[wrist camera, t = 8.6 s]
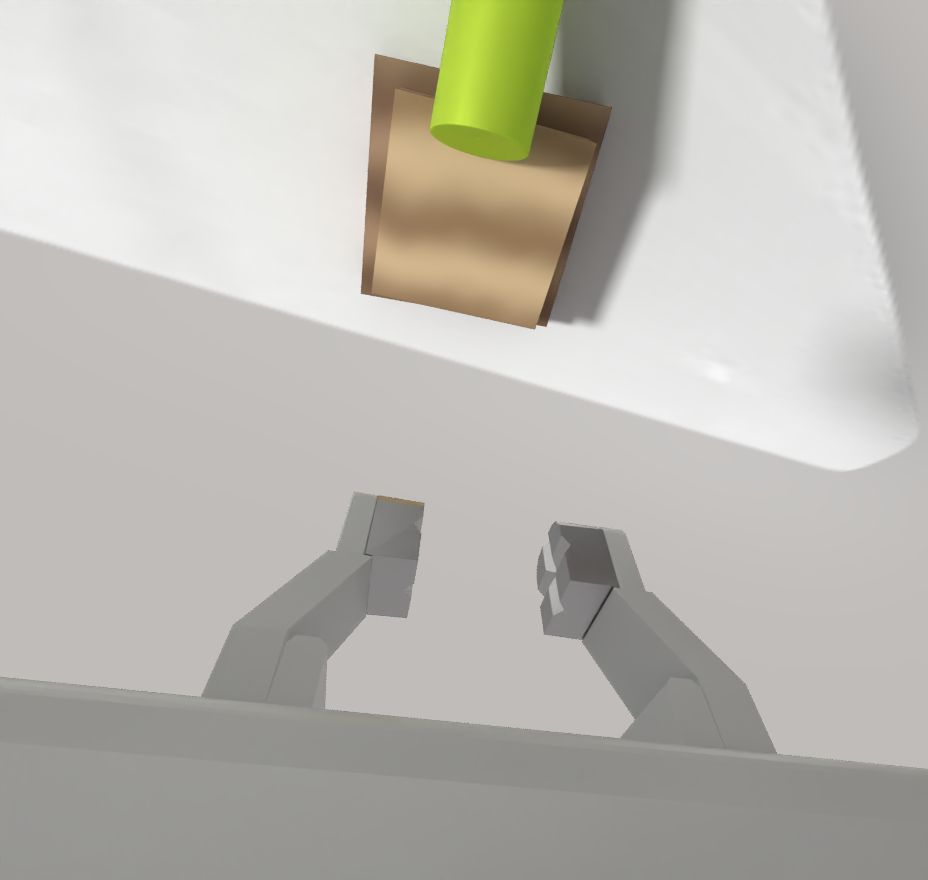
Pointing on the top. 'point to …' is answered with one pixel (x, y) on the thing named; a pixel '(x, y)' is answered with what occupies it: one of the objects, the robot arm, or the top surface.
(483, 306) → the oak top slab
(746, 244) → the top surface
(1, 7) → the top surface
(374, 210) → the walnut base slab
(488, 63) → the soap dispenser
